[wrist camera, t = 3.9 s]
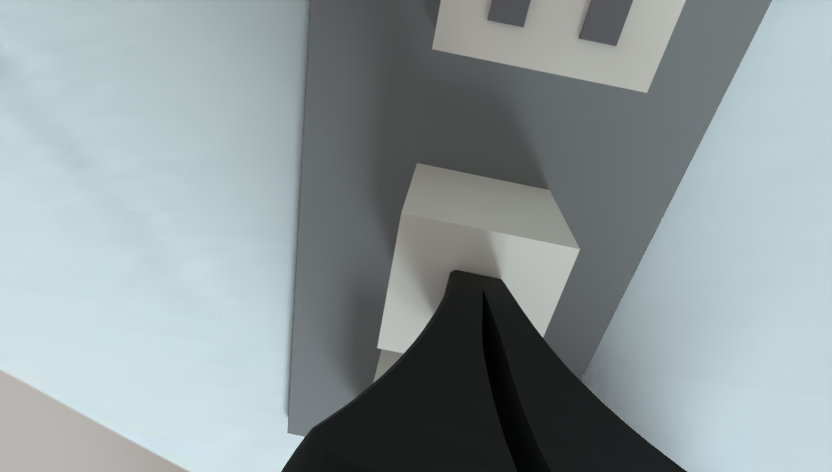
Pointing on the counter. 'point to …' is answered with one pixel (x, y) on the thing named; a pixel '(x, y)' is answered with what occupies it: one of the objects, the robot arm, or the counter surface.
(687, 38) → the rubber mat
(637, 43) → the two bar block
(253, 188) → the counter surface
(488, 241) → the plain block
